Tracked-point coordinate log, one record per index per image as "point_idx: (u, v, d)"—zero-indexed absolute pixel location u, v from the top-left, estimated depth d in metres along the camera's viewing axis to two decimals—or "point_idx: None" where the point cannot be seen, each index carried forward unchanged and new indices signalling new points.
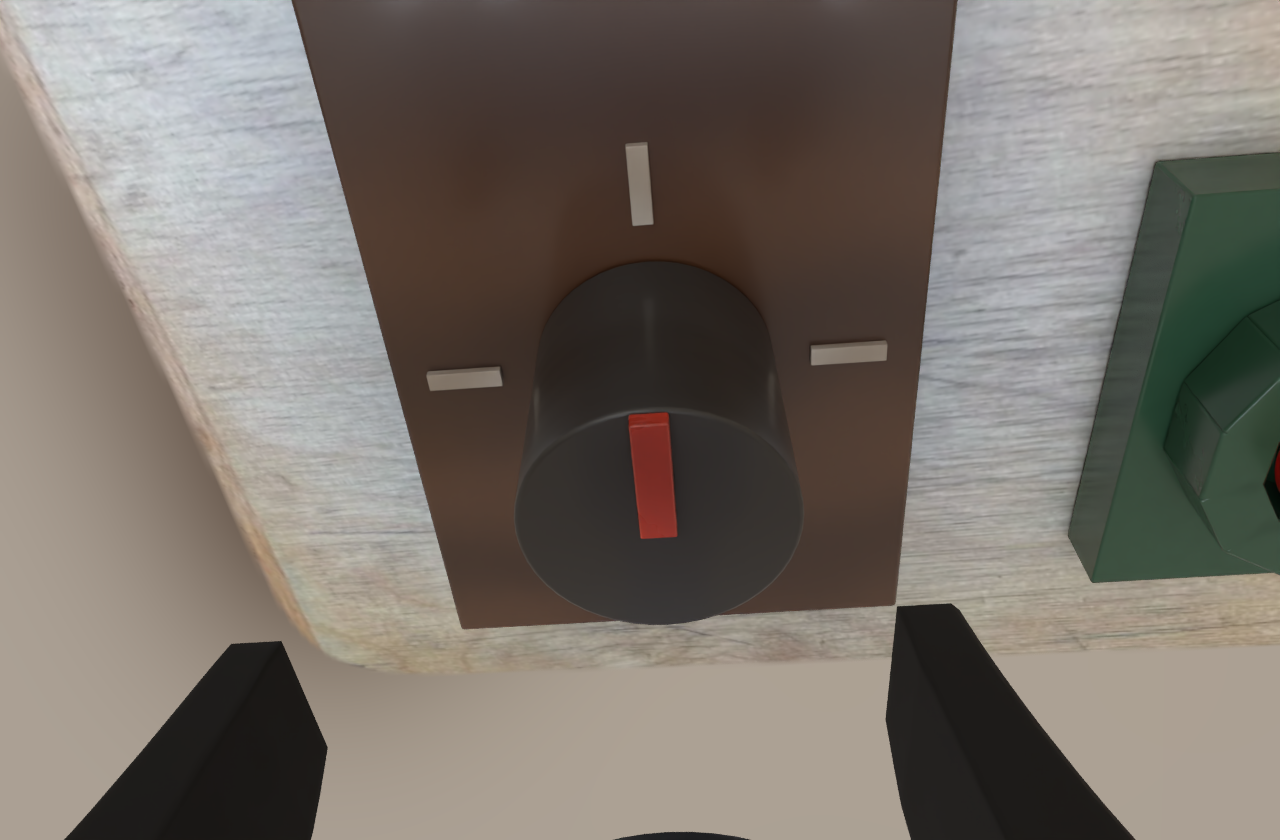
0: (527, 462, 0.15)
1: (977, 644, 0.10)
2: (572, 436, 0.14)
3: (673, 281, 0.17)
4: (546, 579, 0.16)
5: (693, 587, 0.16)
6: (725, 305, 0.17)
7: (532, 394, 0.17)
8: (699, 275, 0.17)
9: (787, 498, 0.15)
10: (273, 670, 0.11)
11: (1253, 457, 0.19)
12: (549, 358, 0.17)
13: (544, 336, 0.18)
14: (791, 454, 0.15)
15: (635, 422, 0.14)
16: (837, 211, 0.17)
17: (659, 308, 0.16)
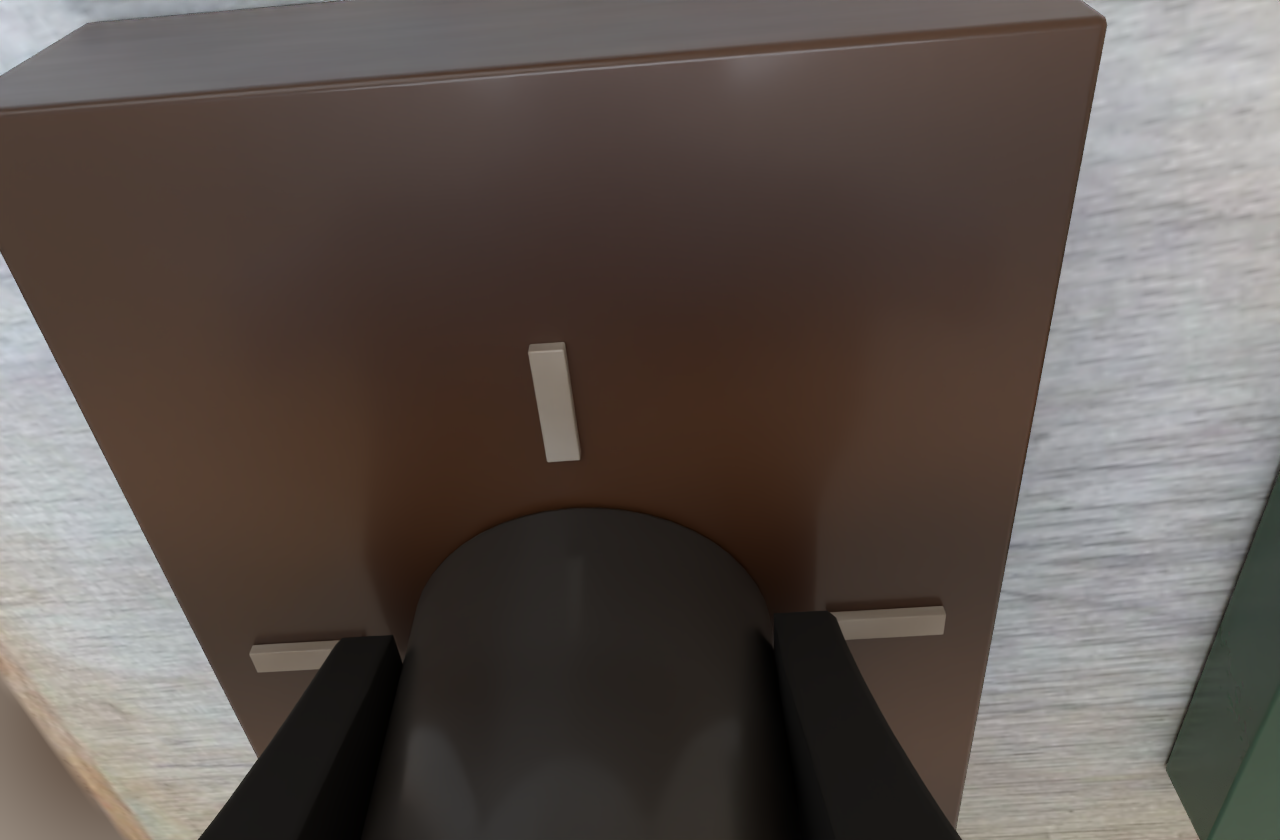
0: None
1: (843, 651, 0.10)
2: None
3: (611, 553, 0.10)
4: None
5: None
6: (695, 592, 0.10)
7: None
8: (655, 535, 0.11)
9: None
10: (387, 664, 0.11)
11: None
12: (409, 685, 0.10)
13: (416, 618, 0.11)
14: None
15: None
16: (874, 438, 0.11)
17: (583, 619, 0.10)
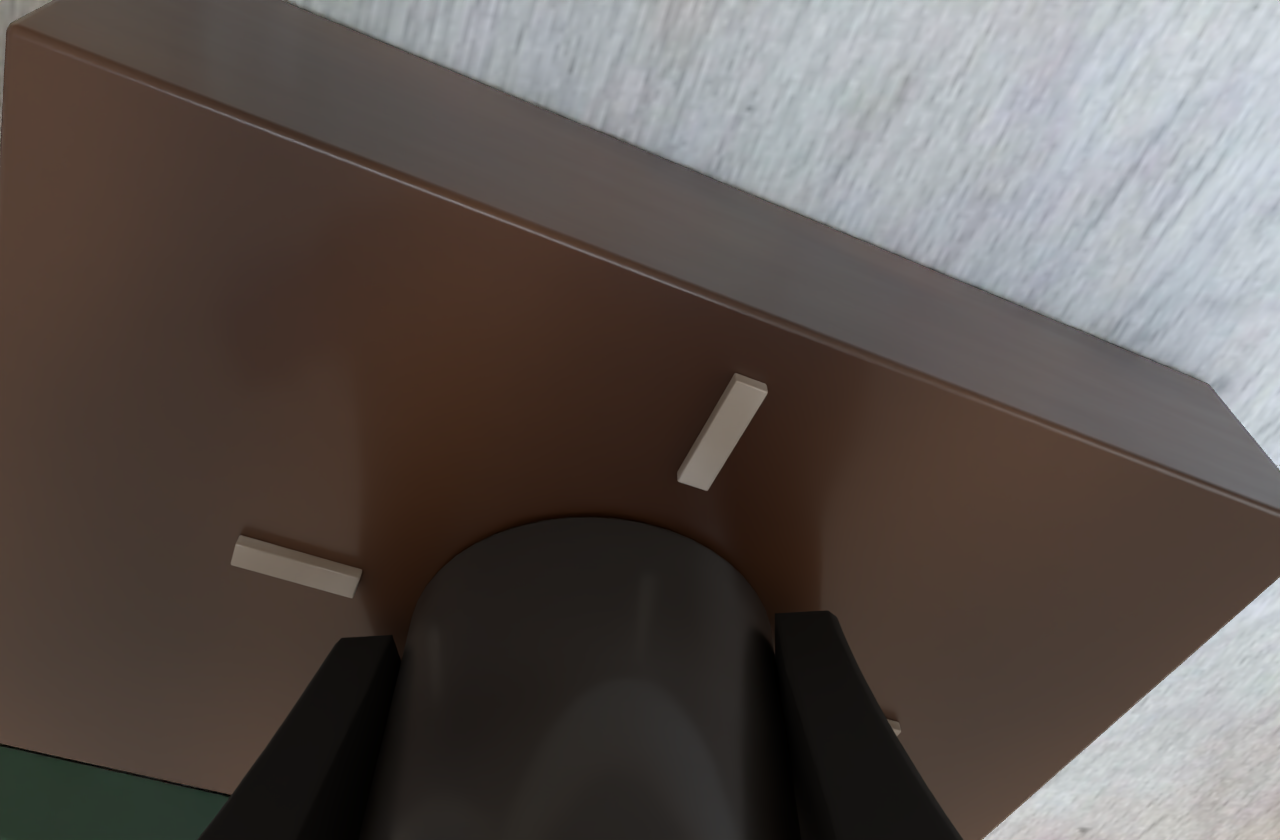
0: None
1: (845, 651, 0.10)
2: None
3: (607, 564, 0.10)
4: None
5: None
6: (693, 603, 0.10)
7: None
8: (652, 544, 0.11)
9: None
10: (386, 664, 0.11)
11: None
12: (403, 701, 0.10)
13: (410, 631, 0.11)
14: None
15: None
16: None
17: (578, 633, 0.10)
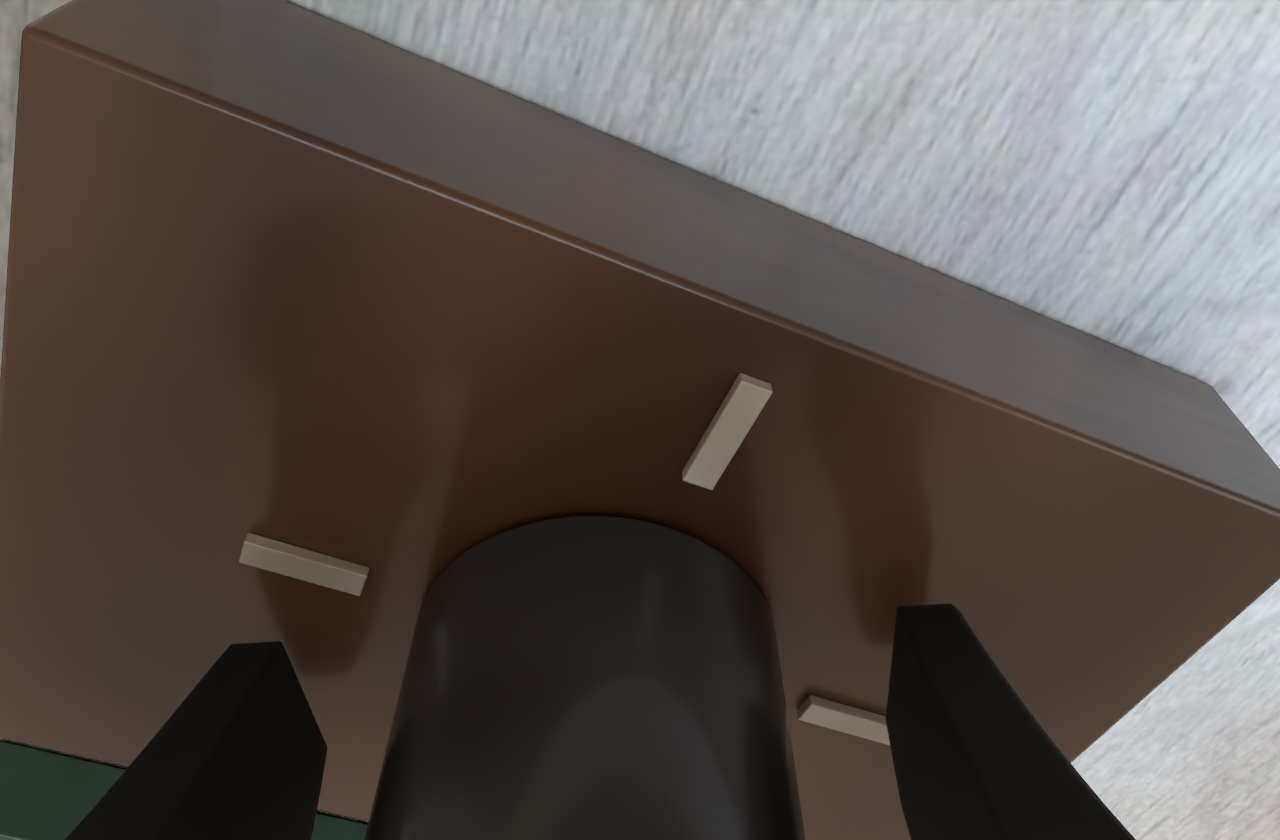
0: None
1: (977, 644, 0.10)
2: None
3: (614, 562, 0.10)
4: None
5: None
6: (699, 602, 0.10)
7: (386, 749, 0.10)
8: (658, 542, 0.11)
9: None
10: (273, 670, 0.11)
11: None
12: (411, 696, 0.10)
13: (417, 627, 0.11)
14: None
15: None
16: None
17: (586, 630, 0.10)
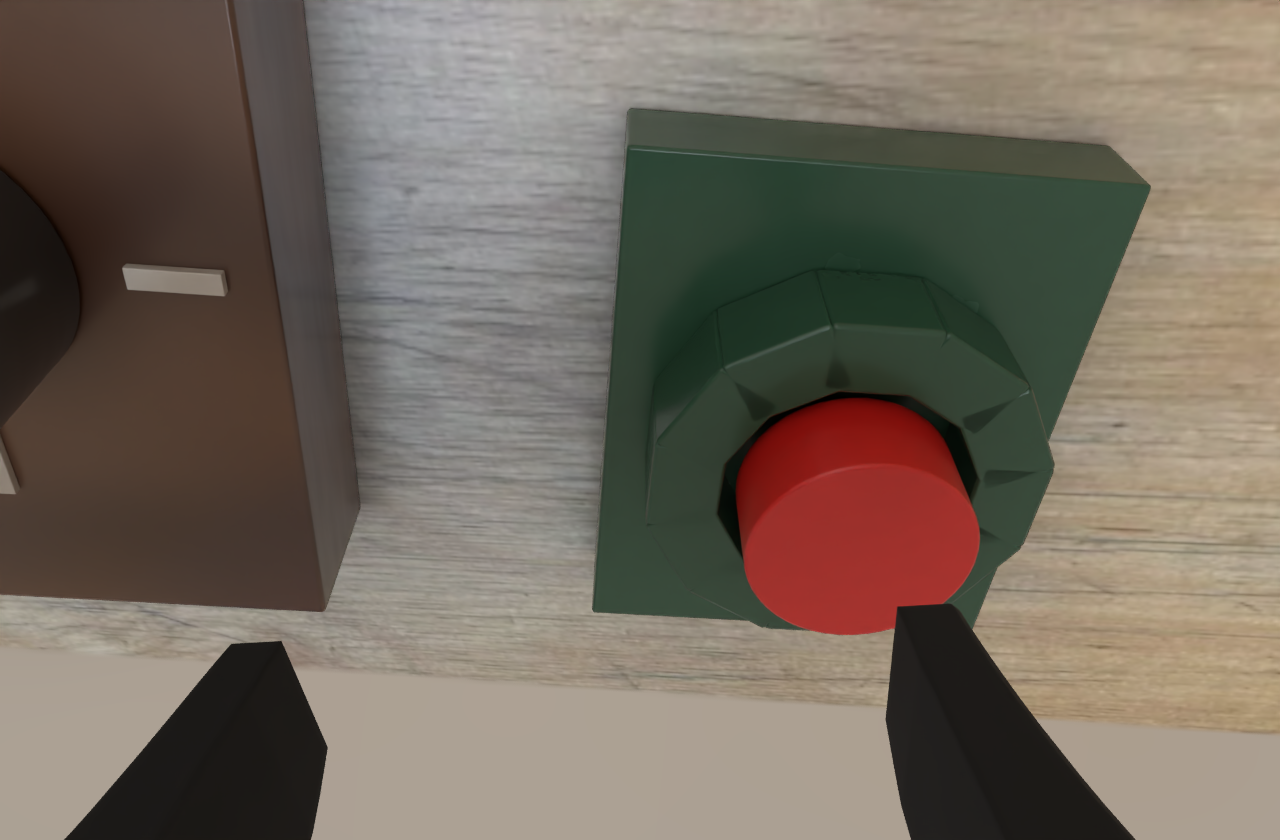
0: None
1: (977, 644, 0.10)
2: None
3: None
4: None
5: None
6: None
7: None
8: None
9: None
10: (273, 670, 0.11)
11: (697, 479, 0.16)
12: None
13: None
14: None
15: None
16: (113, 81, 0.13)
17: None
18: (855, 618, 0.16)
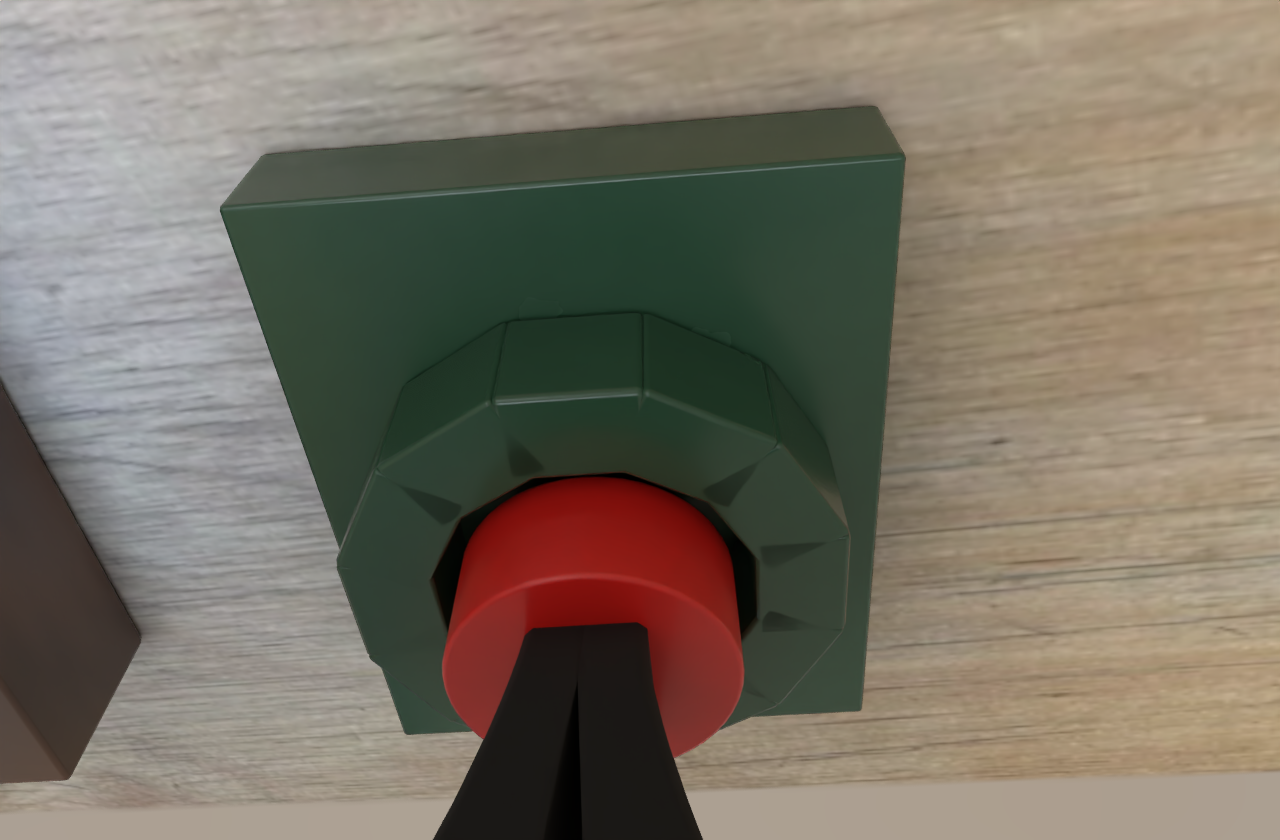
0: None
1: (640, 662, 0.10)
2: None
3: None
4: None
5: None
6: None
7: None
8: None
9: None
10: None
11: (404, 600, 0.13)
12: None
13: None
14: None
15: None
16: None
17: None
18: None
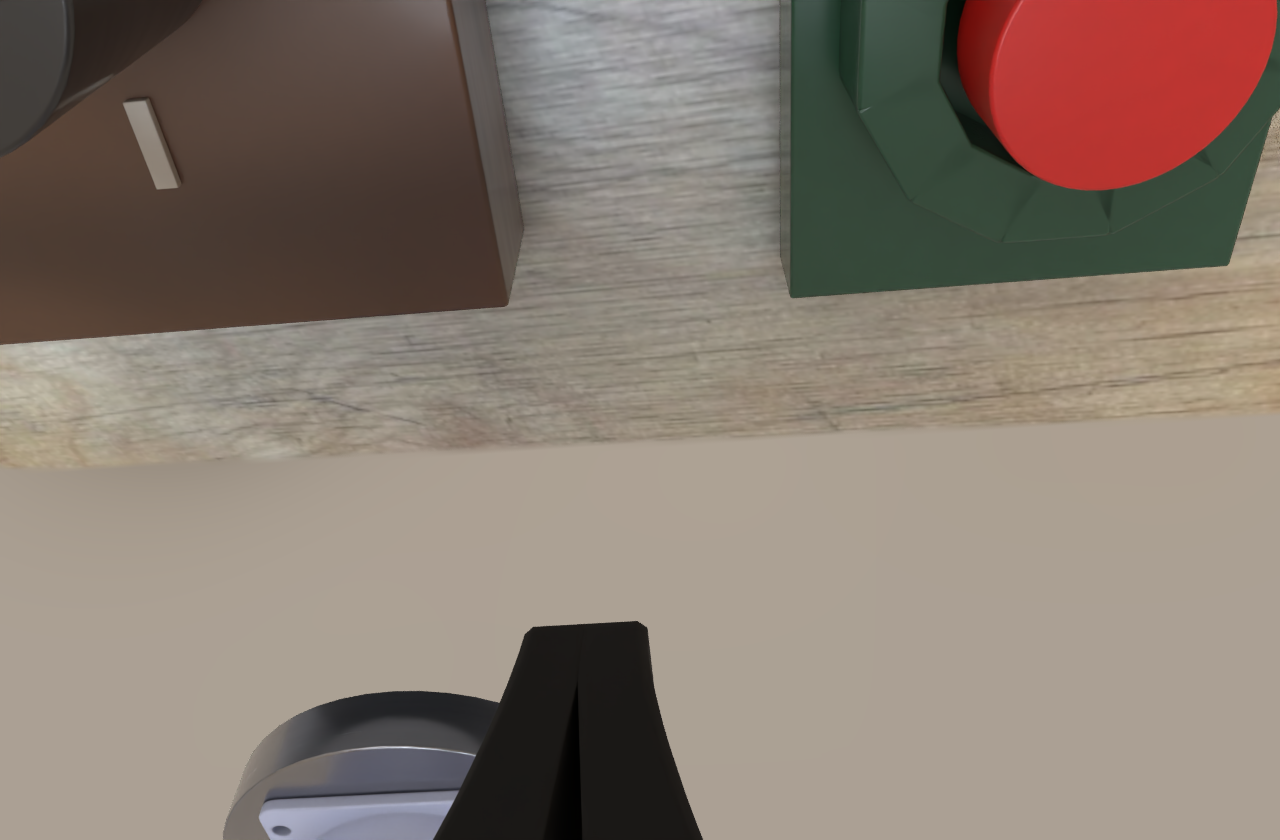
0: None
1: (640, 662, 0.10)
2: None
3: None
4: (55, 67, 0.10)
5: None
6: None
7: None
8: None
9: None
10: None
11: (915, 32, 0.14)
12: None
13: None
14: None
15: None
16: None
17: None
18: (1124, 160, 0.14)
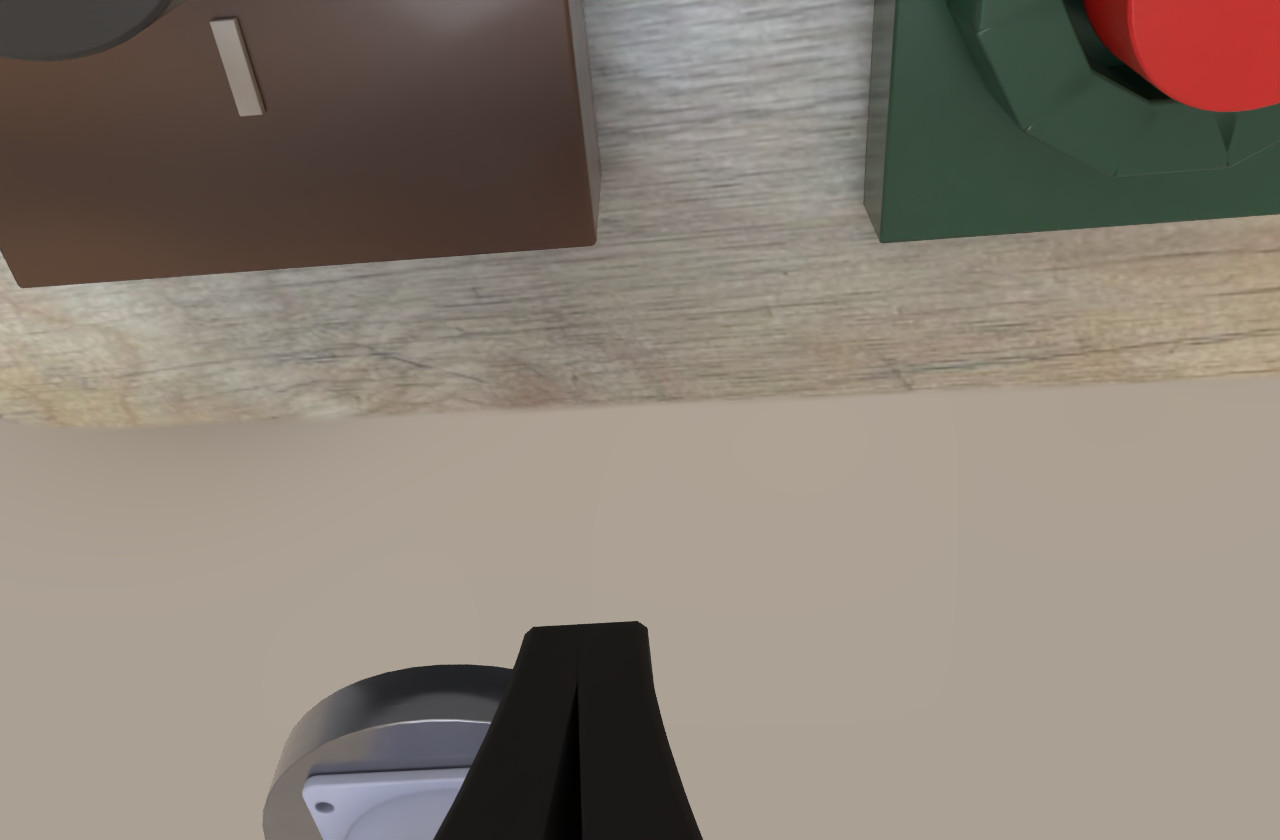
0: None
1: (639, 662, 0.10)
2: None
3: None
4: None
5: None
6: None
7: None
8: None
9: None
10: None
11: None
12: None
13: None
14: None
15: None
16: None
17: None
18: (1263, 79, 0.13)
